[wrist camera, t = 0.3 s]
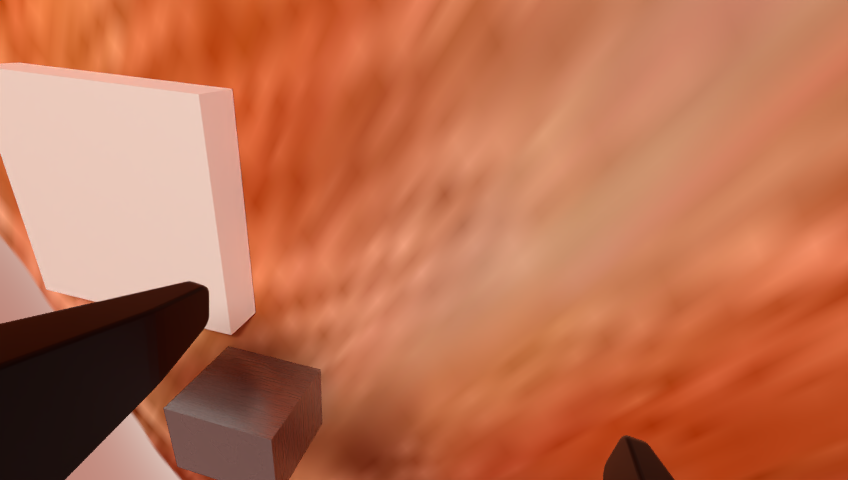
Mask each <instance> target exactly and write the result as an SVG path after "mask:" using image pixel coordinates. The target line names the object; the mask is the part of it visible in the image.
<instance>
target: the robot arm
mask: <svg viewBox="0 0 848 480" xmlns="http://www.w3.org/2000/svg"><path fill="white" fill-rule="evenodd" d="M208 320H209V290H208V288H207V287H206V286H204V285H201V284H198V283H196V282H192V281H186V282H182V283H178V284H173V285H169V286H164V287H160V288H156V289H151V290H147V291H142V292H138V293H134V294H129V295H125V296H120V297H116V298H112V299H107V300H103V301H98V302H94V303H90V304H85V305H81V306H76V307H72V308H68V309H63V310H59V311H54V312H50V313H46V314H42V315H37V316H32V317H28V318H24V319H20V320H15V321H11V322H6V323H2V324H0V480H65V479H66V478H67V477H68V476H69V475H70V474H71V473H72V472H73V471H74V470H75V469H76V468H77V467H78V466H79V465H80V464H81V463H82V462H83V461H84V460H85V459H86V458H87V457H88V456H89V455H90V453H92V452H93V451H94V450H95V449H96V448H97V446H99V444H100V443H101V442H102V441H103V440H104V439H105V438H106V437H107V436H108V435H109V434H110V433H111V432H112V431H113V430H114V429H115V428H116V427H117V426H118V425H119V424H120V423H121V422H122V421H123V420H124V419H125V418H126V417H127V416H128V415H129V414H130V413H131V412H132V411H133V410H134V409H135V408H136V407H137V406H138V405H139V404H140V403H141V402H142V401H143V400H144V399H145V398H146V397H147V396H148V395H149V394H150V393H151V392H152V391H153V389H154V388H155V387H156V386H157V385H158V384H159V383H160V382H161V381H162V380H163V378H164V377H165V376H166V375H167V374H168V373H169V371H170V370H171V369H172V368H173V366H174V365H175V364H176V363H177V361H178V360H179V359H180V358H181V357H182V355H183V354H184V353H185V352H186V350H187V349H188V348H189V347H190V345H191V344H192V343H193V342H194V340H195V339H196V338H197V337H198V336H199V334H200V333H201V332H202V331H203V329H204V328H205V327H206V325H207V323H208ZM603 480H674V478H673V477H672V476H671V474H670V473H669V472H668V470H667V469H666V468H665V466H664V465H663V464H662V462H661V461H660V459H659V458H658V457H657V455H656V454H655V453H654V451H653V450H652V449H651V447H650V446H649V445H648V444H647V443H646V442H644V441H642V440H639V439H636V438H633V437H630V436H623V437H622V438H621V439H620V440H619V442H618V443H617V445H616V447H615V448H614V450H613V452H612V453H611V455H610V457H609V458H608V460H607V462H606V464H605V468H604V473H603Z"/></svg>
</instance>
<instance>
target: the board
mask: <svg viewBox="0 0 848 480" xmlns="http://www.w3.org/2000/svg"><path fill="white" fill-rule="evenodd" d="M0 154H1V157H2V160H3V162H4V165H5V168H6V171H7V174H8V177H9V180H10V183H11V186H12V189H13V192H14V195H15V198H16V201H17V204H18V207H19V210H20V213H21V216H22V219H23V222H24V225H25V228H26V230H27V233H28V236H29V239H30V242H31V245H32V248H33V251H34V254H35V257H36V260H37V263H38V266H39V269H40V272H41V275H42V278H43V281H44V284H45V287H46V290H50V291H54V292H58V293H63V294H67V295H71V296H75V297H79V298H83V299H87V300H91V301H95V302H98V301H103V300H107V299H112V298H116V297H120V296H125V295H129V294H134V293H138V292H142V291H147V290H151V289H156V288H160V287H164V286H169V285H173V284H178V283H182V282H186V281H192V282H196V283H198V284H201V285H204V286H206V287H207V288H208V290H209V320H208V323H207V325H206V327H205V328H204V329H208V330H212V331H216V332H221V333H225V334H229V335H232V334H233V333H234V332H235V331H236V330H237V329H239V328H240V327H241V326H242V325H243V324H244V323H245V322H246V321H247V320H248V319H249V318H250V317H251V316H253V315H254V314H255V313H256V312H255V303H254V293H253V283H252V274H251V264H250V255H249V245H248V236H247V226H246V216H245V207H244V197H243V188H242V178H241V169H240V159H239V149H238V140H237V130H236V121H235V111H234V101H233V92H232V89H229V88H221V87H213V86H204V85H196V84H188V83H180V82H172V81H164V80H156V79H148V78H140V77H132V76H124V75H115V74H107V73H99V72H91V71H83V70H75V69H67V68H59V67H51V66H43V65H35V64H26V63H3V64H0Z"/></svg>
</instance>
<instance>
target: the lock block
mask: <svg viewBox="0 0 848 480" xmlns="http://www.w3.org/2000/svg"><path fill="white" fill-rule="evenodd" d="M164 412H165V416H166V421H167V425H168V429H169V433H170V437H171V442H172V446H173V450H174V454H175V458H176V462H177V467H180V468H183V469H186V470H189V471H192V472H195V473H198V474H202V475H205V476H208V477H211V478H214V479H217V480H289V478H290V477H291V475H292V473H293V472H294V470H295V468H296V467H297V465H298V463H299V462H300V460H301V458H302V457H303V455H304V453H305V452H306V450H307V448H308V447H309V445H310V443H311V442H312V440H313V438H314V436H315V435H316V433H317V431H318V430H319V428H320V426H321V425H322V403H321V371H320V369H316V368H312V367H308V366H304V365H300V364H296V363H292V362H288V361H284V360H280V359H276V358H272V357H268V356H264V355H261V354H257V353H253V352H249V351H245V350H241V349H237V348H233V347H229V346H228V347H227V348H226V349H225V350H224V351H223V352H222V353H221V354H220V355H219V356H218V357H217V358H216V359H215V360H214V361H213V362H212V363H211V364H210V365H208V366H207V367H206V368H205V369H204V370H203V371H202V372H201V373H200V374H199V375H198V376H197V377H196V378H195V379H194V380H193V381H192V382H191V383H190V384H189V385H188V386H186V387H185V388H184V389H183V390H182V391H181V392H180V393H179V394H178V395H177V396H176V397H175V398H174V399H173V400H172V401H171V402H170V403H169V404H168V405H167V406H166V407H164Z"/></svg>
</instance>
